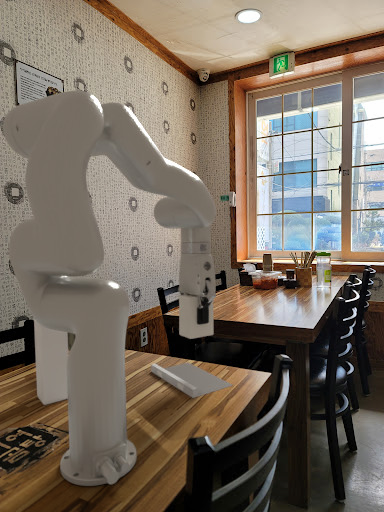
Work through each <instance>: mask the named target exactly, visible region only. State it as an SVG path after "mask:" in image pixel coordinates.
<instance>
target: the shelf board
mask: <svg viewBox="0 0 384 512" xmlns="http://www.w3.org/2000/svg"><path fill="white" fill-rule="evenodd" d="M150 365H151V366H150V368H151V369H150V370H151V371H150V372H151V373H152V374H154V375H155V376H157V377H158V378H161V379H162V380H164V381H165V382H167V384H170V385H172V386H173V387H175V388H176V389H177V390H179V391H181V392H183V393H184V394H185V395H187V396H188V397H190V398H192V399H195V398H199V397H202V396H204V395H207V394H211V393H215V392H217V391H220V390H223V389H226V388H229V387H232V386H234V384H232V383H230V382H228V381H226V380H224V379H222V378H221V377H218V376H216V375H214V374H212V373H210V372H208V371H207V370H204V369H202V368H200V367H198V366H196V365H194V364H192V363H190V362H189V361H188V362H184V363H180V364H175V365H173V366H169V367H164V368H163V367H162V366H160V365H158V364H157V363H151V364H150Z"/></svg>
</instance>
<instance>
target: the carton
mask: <svg viewBox="0 0 384 512" xmlns="http://www.w3.org/2000/svg"><path fill="white" fill-rule="evenodd" d="M202 295H204V294H202ZM204 299H205V297H204V298H202V301H203V300H204ZM178 304H179V305H178V315H179V316H178V317H179V318H178V319H179V322H178V324H179V326H178V327H179V328H178V331H179V333H178V334H179V335H180V336H181V337H185V338H187V339H189V340H191V339H197V338H203V337H207V336H208V337H209V336H213V335H214V299H213V300H212V303H211V304H210V307H209V323H207V324H200V325H199V324H197V308H199V305H198V298H197V296H195V295H190V294H187V295H181V294H180V295H178Z"/></svg>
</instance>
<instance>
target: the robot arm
mask: <svg viewBox="0 0 384 512" xmlns="http://www.w3.org/2000/svg"><path fill="white" fill-rule="evenodd" d="M2 130H3V135H4V138H5V141H6V142H7V145H8V146H9V148H11V150H12V151H14V152H15V153H16V154H18V156H21V157H22V158H25V159H28V160H27V164H26V167H25V177H24V181H25V182H24V184H25V190H26V191H25V192H26V195H27V199H28V203H29V206H30V209H31V212H32V216H33V218H29V219H26V220H24V221H22V222H20V223H19V224H17V226H16V227H15V228H14V230H13V231H12V233H11V235H10V238H9V243H8V256H9V262H10V264H11V267H12V270H13V273H14V275H15V277H16V281H17V283H18V285H19V287H20V290H21V292H22V295H23V297H24V299H25V303H26V304H27V307H28V309H29V311H30V313H31V316H32V317H33V318H34V320H36V321H37V322H38V323H39V324H40V325H42V326H43V327H46V328H48V329H52V330H57V331H63V332H69V333H73V334H75V335H76V338H75V341H74V344H73V346H72V348H71V350H70V351H68V358H67V367H66V371H67V393H68V399H67V415H68V419H67V421H68V436H69V437H68V442H69V449H67V450H66V452H64V453H63V455H62V457H61V458H60V466H59V467H60V468H59V469H60V473H61V476H62V477H63V479H64V480H66V481H67V482H68V483H71V484H74V485H77V486H84V487H93V486H95V487H96V486H101V485H104V484H108V485H113V484H116V483H117V482H118V480H120V478H122V477H124V476H125V475H127V474H128V473H129V472H131V470H132V469H133V468H134V466H135V464H136V463H137V447H136V446H135V445H134V443H133V442H132V441H131V440H129V439H128V424H127V423H128V422H127V420H128V419H127V391H126V388H127V387H126V385H127V384H126V351H125V350H126V336H127V327H128V323H129V316H130V309H131V308H130V306H131V305H130V298H129V295H128V293H127V291H126V289H125V288H124V287H123V286H121V285H120V284H119V283H117V282H116V281H113V280H111V279H107V278H99V277H85V276H87V275H92V274H93V273H96V272H97V271H98V270H99V269H100V268H101V267H102V265H103V263H104V259H105V249H104V243H103V239H102V235H101V231H100V229H99V224H98V222H97V218H96V215H95V212H94V211H95V210H94V208H93V205H92V201H91V198H90V194H89V189H88V185H87V172H88V171H87V170H88V166H89V162H90V159H91V158H92V157H93V158H94V157H97V156H105V157H107V158H108V159H109V160H110V162H111V163H112V164H113V165H114V166H115V168H117V170H119V172H120V173H121V174H122V175H123V177H125V179H126V180H127V181H128V182H129V184H130V185H131V186H133V187H134V188H135V189H138V190H139V191H144V192H147V193H150V194H154V195H160V196H162V198H160V199H159V200H158V201H157V202H156V204H155V205H154V207H153V217H154V219H155V221H156V223H157V224H158V225H159V226H160V227H162V228H163V229H170V230H171V229H172V230H174V229H175V230H177V229H180V260H179V261H180V262H179V273H178V274H179V275H178V277H179V279H178V282H179V283H178V285H179V286H178V288H177V290H178V292H179V294H180V295H187V294H190V295H195V296H197V298H198V305H199V308H197V324H199V325H200V324H207V323H209V307H210V304H211V303H212V300H213V301H214V300H215V298H217V297H216V296H217V295H216V287H217V285H216V271H215V264H214V262H215V261H214V258H213V255H212V253H211V251H212V249H211V248H212V247H211V244H212V241H211V239H212V238H211V236H212V235H211V230H212V229H211V227H212V226H211V225H212V224H213V223H214V221H215V219H216V216H217V207H216V203H215V201H214V199H213V196H212V194H211V193H210V191H209V189H208V188H207V186H206V184H205V183H204V182H203V180H202V179H200V178H199V176H197V175H196V174H195V173H193V172H191V171H190V170H188V169H186V168H184V167H183V166H181V165H179V164H177V163H175V162H174V161H171V160H170V159H168V158H165V157H164V155H163V154H162V152H161V151H160V150H159V147H157V145H156V144H155V143H154V141H153V140H152V138H151V137H150V135H149V134H148V133H147V130H145V128H144V127H143V125H142V124H141V122H140V121H139V120H138V118H137V116H136V115H135V114H134V112H133V111H132V110H131V109H130V108H129V107H128V106H127V105H125V104H123V103H120V102H108V103H100V101H99V100H98V98H97V97H95V95H93V94H92V93H90V92H88V91H84V90H70V91H63V92H58V93H55V94H52V95H47V96H44V97H42V98H40V99H36V100H32V101H28V102H25V103H22V104H18V105H16V106H14V107H13V108H12V109H10V110H9V111H8V112H7V113H6V116H5V117H4V120H3V123H2ZM202 294H204V295H202ZM204 297H205V299H204V300H203V301H202V298H204Z"/></svg>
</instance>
